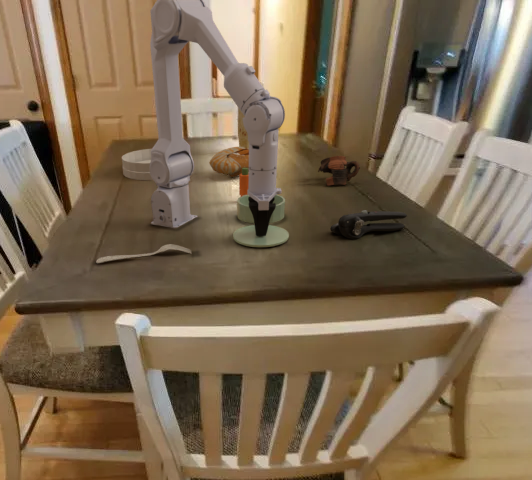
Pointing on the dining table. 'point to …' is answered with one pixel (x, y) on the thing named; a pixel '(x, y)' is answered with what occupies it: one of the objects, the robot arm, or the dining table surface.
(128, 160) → the dish
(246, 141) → the food model
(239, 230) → the lid
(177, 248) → the fork
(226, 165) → the nautilus
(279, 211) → the pot
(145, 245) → the dining table surface
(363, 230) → the can opener
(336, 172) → the pottery mug
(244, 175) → the carrot
